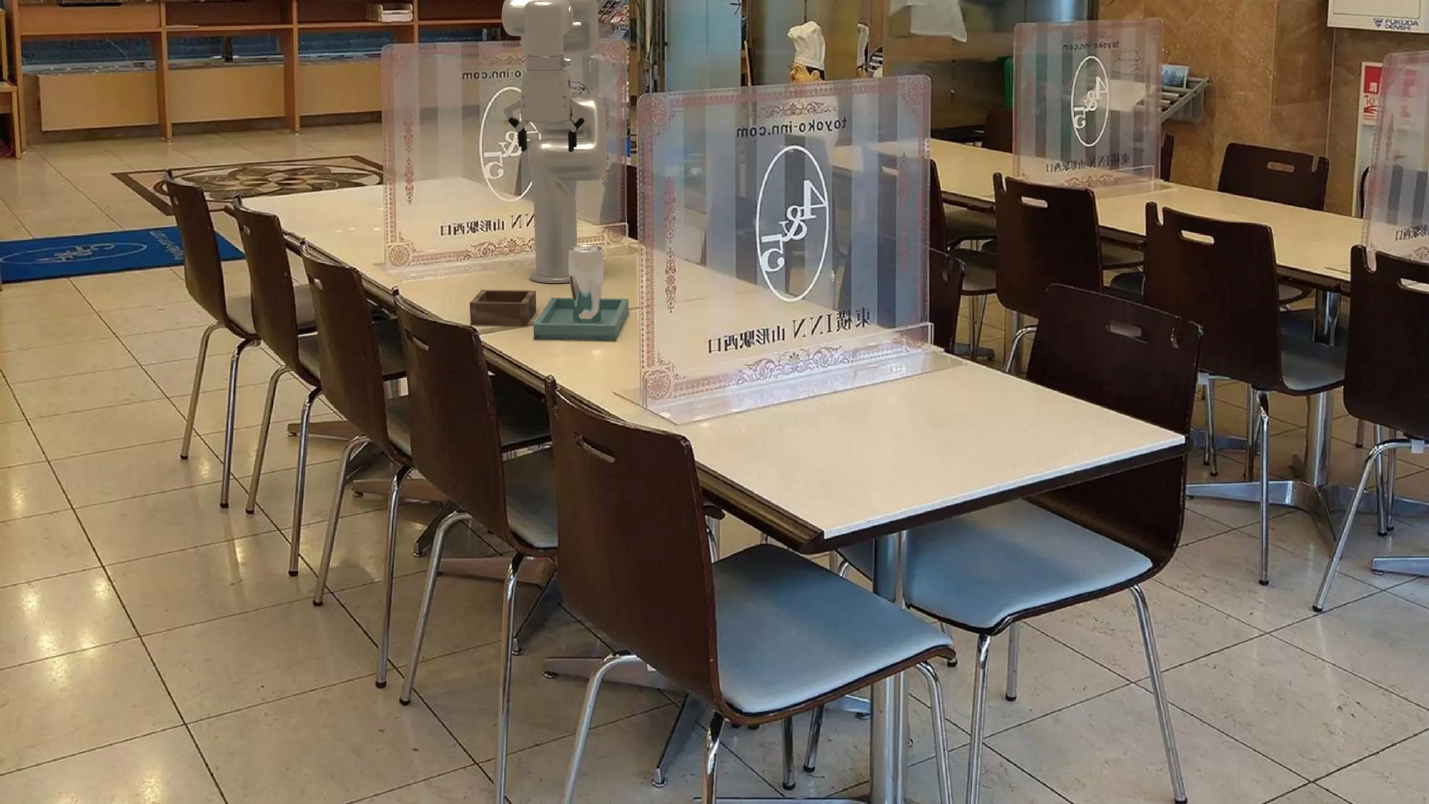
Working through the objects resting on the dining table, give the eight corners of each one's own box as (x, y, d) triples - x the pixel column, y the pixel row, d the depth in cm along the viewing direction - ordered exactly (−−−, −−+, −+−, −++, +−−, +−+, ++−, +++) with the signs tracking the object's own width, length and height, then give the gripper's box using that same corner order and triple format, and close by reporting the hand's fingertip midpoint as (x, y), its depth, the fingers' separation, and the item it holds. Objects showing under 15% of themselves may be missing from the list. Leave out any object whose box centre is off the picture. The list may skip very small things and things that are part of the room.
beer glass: (599, 327, 296) (597, 252, 291) (565, 325, 297) (563, 251, 292) (608, 318, 302) (607, 245, 298) (575, 316, 303) (573, 243, 299)
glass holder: (482, 310, 312) (481, 289, 311) (536, 311, 311) (535, 290, 310) (470, 324, 301) (469, 303, 300) (526, 325, 301) (525, 304, 299)
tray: (552, 311, 312) (551, 297, 311) (628, 312, 311) (628, 298, 310) (533, 339, 291) (533, 324, 290) (615, 340, 290) (615, 325, 289)
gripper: (590, 63, 300) (592, 148, 305) (505, 62, 301) (509, 148, 306) (585, 66, 293) (587, 154, 298) (498, 66, 294) (501, 153, 299)
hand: (547, 150), depth 302 cm, fingers open, 9 cm apart
